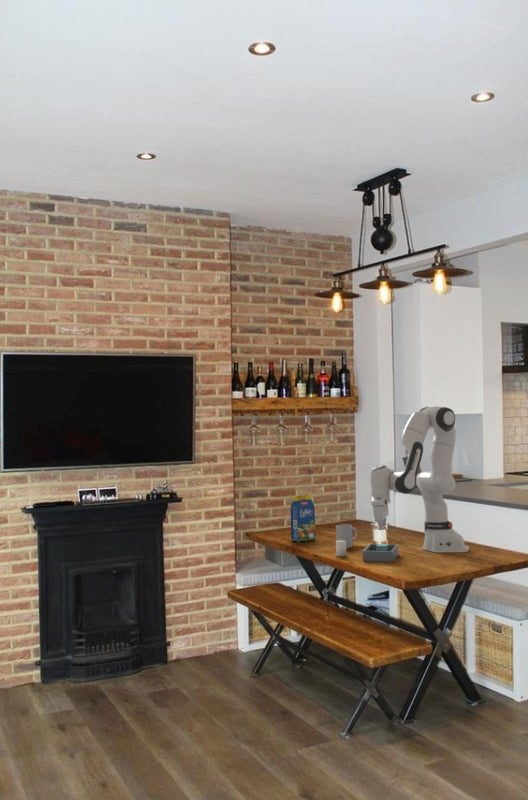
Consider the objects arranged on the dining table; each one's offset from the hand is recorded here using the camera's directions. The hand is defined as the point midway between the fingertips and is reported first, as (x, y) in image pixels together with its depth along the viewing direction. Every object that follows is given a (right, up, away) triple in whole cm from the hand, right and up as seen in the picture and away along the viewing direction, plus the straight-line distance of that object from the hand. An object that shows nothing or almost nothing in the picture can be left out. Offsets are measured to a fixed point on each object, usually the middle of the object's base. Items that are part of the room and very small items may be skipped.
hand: (382, 527), depth 358 cm
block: (0, -13, 0) cm, 13 cm away
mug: (-14, -15, +28) cm, 35 cm away
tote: (-1, -14, -4) cm, 15 cm away
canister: (-19, -14, +5) cm, 25 cm away
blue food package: (-36, -16, +48) cm, 62 cm away
